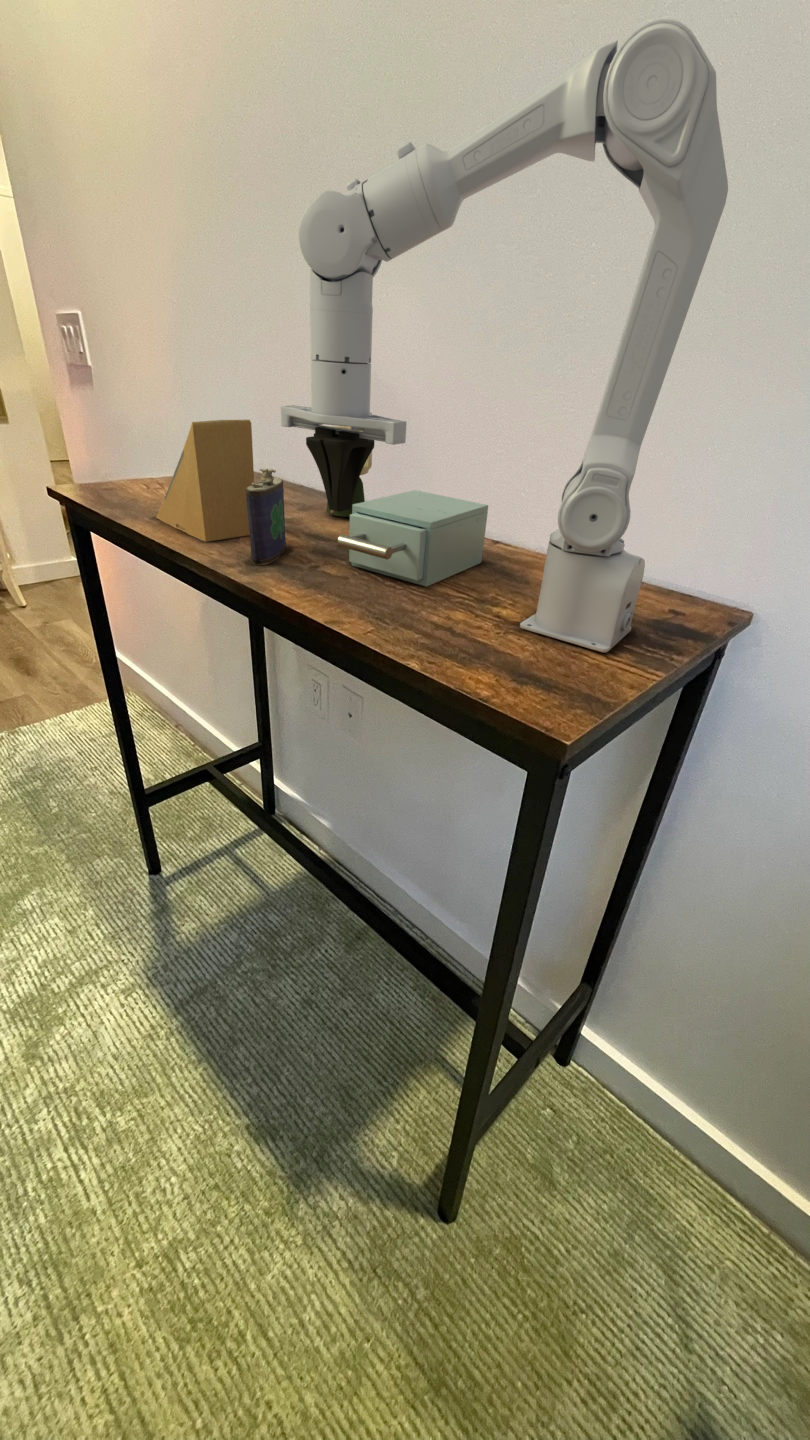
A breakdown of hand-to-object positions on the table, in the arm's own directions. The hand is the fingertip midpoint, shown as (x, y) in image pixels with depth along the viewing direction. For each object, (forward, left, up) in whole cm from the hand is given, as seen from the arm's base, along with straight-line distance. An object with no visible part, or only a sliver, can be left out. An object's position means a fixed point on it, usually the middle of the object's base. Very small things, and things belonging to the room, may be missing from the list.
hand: (340, 509), depth 67 cm
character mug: (+23, -29, -10) cm, 38 cm away
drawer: (0, -12, -9) cm, 15 cm away
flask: (+16, -5, -10) cm, 19 cm away
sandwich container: (+33, -8, -10) cm, 35 cm away
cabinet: (0, -16, -9) cm, 19 cm away
